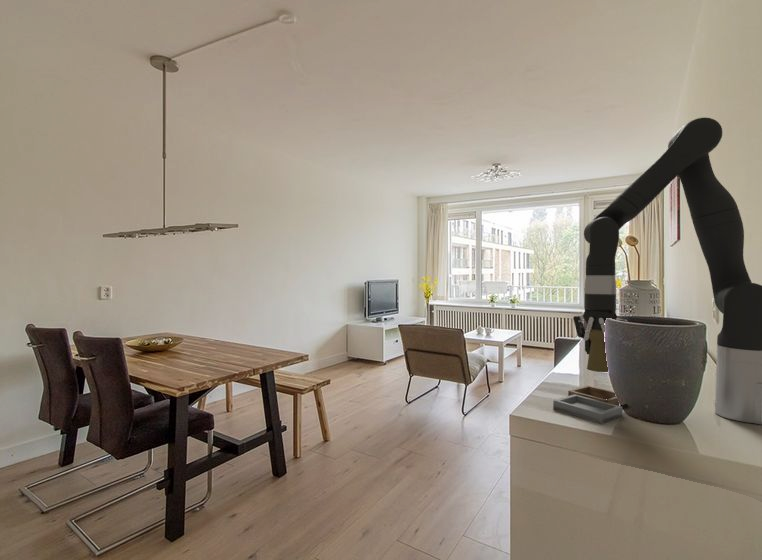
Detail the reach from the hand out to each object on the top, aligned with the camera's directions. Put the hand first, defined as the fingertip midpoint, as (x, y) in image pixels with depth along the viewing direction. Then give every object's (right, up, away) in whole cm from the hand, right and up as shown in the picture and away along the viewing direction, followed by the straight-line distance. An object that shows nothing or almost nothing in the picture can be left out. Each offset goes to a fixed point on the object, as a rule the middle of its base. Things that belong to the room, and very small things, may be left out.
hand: (599, 355), depth 107 cm
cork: (0, -4, 0) cm, 4 cm away
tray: (-8, -13, -9) cm, 17 cm away
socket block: (0, -13, 0) cm, 13 cm away
